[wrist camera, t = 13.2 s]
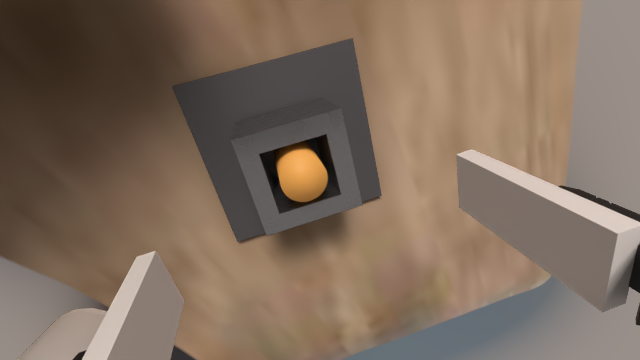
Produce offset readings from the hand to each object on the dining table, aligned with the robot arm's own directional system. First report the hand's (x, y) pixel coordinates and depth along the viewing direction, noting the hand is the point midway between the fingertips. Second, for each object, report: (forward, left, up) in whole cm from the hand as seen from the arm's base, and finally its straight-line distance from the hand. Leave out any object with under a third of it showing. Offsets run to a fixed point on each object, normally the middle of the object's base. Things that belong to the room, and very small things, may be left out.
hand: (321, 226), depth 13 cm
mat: (0, 0, -15) cm, 15 cm away
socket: (0, 0, -14) cm, 14 cm away
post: (0, 0, -15) cm, 15 cm away
